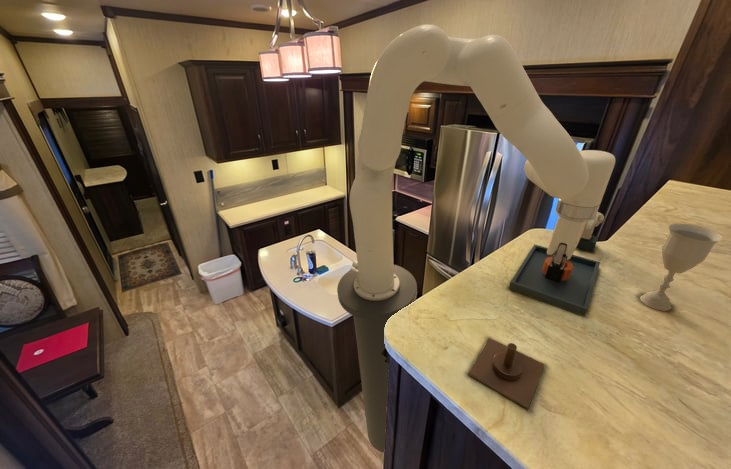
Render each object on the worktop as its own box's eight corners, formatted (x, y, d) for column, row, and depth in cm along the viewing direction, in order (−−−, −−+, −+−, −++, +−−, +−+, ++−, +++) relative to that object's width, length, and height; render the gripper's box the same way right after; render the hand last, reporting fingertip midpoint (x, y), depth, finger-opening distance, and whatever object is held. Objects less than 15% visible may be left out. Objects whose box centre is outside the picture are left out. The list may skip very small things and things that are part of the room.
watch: (595, 243, 86) (608, 209, 81) (591, 255, 81) (604, 220, 76) (573, 237, 89) (584, 205, 84) (568, 249, 84) (579, 215, 79)
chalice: (626, 296, 66) (660, 227, 58) (646, 288, 68) (682, 220, 59) (664, 317, 60) (708, 244, 52) (685, 308, 62) (731, 236, 53)
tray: (508, 288, 71) (510, 282, 70) (532, 250, 85) (534, 244, 84) (584, 316, 62) (587, 309, 61) (597, 268, 76) (600, 261, 75)
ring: (539, 274, 73) (542, 264, 71) (545, 263, 76) (548, 254, 75) (567, 283, 69) (571, 273, 68) (572, 271, 73) (575, 261, 71)
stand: (467, 374, 52) (471, 350, 49) (488, 339, 59) (493, 316, 55) (527, 409, 46) (537, 385, 43) (543, 366, 53) (552, 341, 49)
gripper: (564, 193, 72) (547, 253, 81) (548, 218, 61) (529, 285, 69) (602, 199, 67) (579, 262, 76) (591, 227, 56) (565, 297, 65)
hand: (555, 272), depth 73 cm, fingers closed on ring, 6 cm apart
